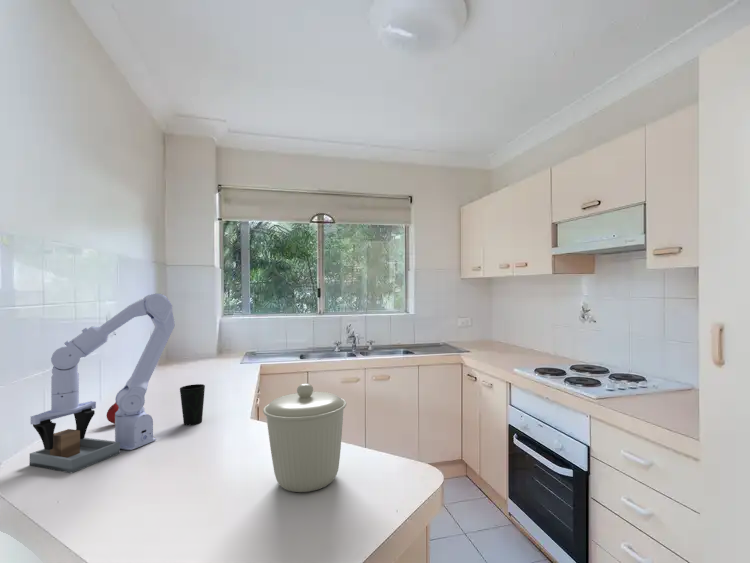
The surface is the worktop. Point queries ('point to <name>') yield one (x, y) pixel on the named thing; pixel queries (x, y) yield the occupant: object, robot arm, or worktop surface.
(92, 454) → the tray
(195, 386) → the cup
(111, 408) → the pomegranate
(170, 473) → the worktop surface
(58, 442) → the block
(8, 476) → the worktop surface
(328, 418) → the canister
